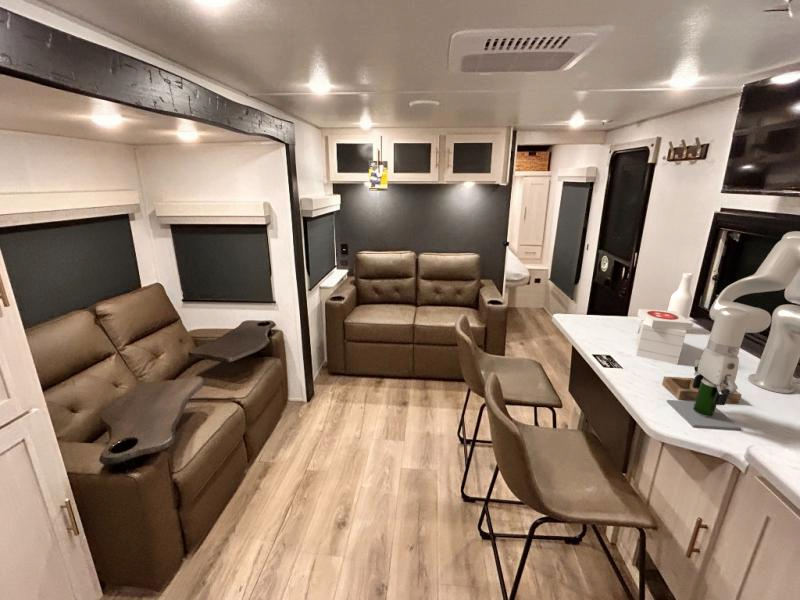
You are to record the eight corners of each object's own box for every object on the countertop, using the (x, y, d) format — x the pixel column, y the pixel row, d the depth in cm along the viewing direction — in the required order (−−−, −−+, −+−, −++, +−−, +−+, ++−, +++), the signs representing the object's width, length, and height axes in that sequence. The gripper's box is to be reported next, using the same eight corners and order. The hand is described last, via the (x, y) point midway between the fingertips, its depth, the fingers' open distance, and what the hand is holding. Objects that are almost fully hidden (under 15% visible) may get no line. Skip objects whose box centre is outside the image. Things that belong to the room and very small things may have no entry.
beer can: (693, 414, 122) (703, 381, 118) (691, 406, 127) (700, 374, 123) (714, 419, 120) (725, 386, 116) (711, 411, 124) (721, 379, 120)
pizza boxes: (677, 342, 179) (687, 307, 173) (683, 368, 155) (694, 327, 149) (631, 333, 189) (639, 299, 183) (629, 356, 164) (638, 317, 159)
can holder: (718, 388, 140) (720, 379, 139) (738, 403, 130) (741, 394, 129) (661, 384, 141) (664, 376, 140) (678, 399, 132) (680, 390, 131)
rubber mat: (709, 404, 129) (709, 402, 129) (740, 430, 116) (741, 428, 116) (666, 401, 130) (667, 399, 130) (693, 427, 117) (693, 424, 117)
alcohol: (658, 327, 198) (672, 271, 189) (673, 326, 199) (687, 271, 190) (673, 333, 190) (688, 276, 180) (687, 332, 191) (704, 275, 182)
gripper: (758, 361, 107) (740, 412, 113) (715, 336, 124) (701, 382, 129) (731, 359, 108) (714, 410, 113) (691, 335, 124) (678, 381, 129)
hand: (707, 395), depth 121 cm, fingers open, 9 cm apart
